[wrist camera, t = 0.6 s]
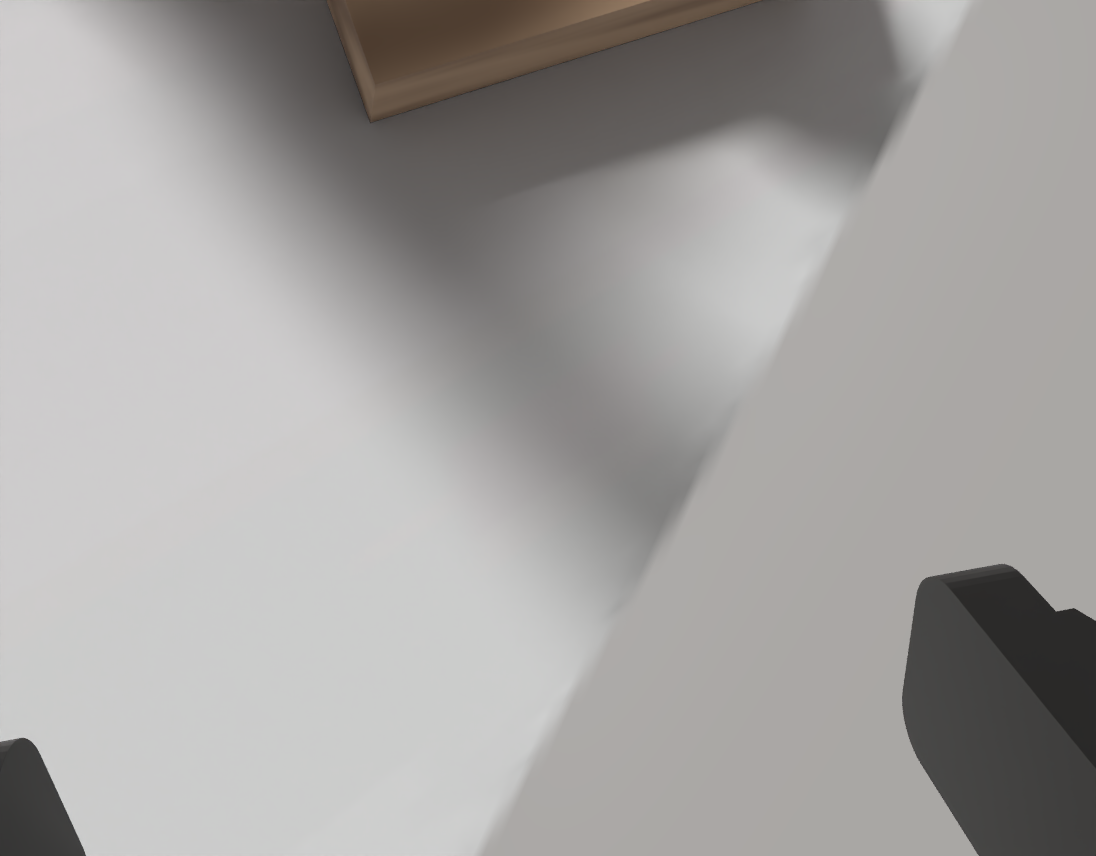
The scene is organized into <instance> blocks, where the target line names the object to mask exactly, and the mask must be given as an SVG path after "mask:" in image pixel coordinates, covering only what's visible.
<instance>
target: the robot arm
mask: <svg viewBox="0 0 1096 856" xmlns="http://www.w3.org/2000/svg"><path fill="white" fill-rule="evenodd" d="M902 702H903V703H902V706H903V714H904V720H905V724H906V729H907V732H908V736H909V739H910V742H911V744H912V747H913V749H914V751H915V753H916V756H917V758H918V759H919V761H920V763H921V765H922V766H923V768H924V769H925V771H926V773H927V774H928V776H929V777H930V779H931V781H932V782H933V784H934V785H935V787H936V788H937V790H938V791H939V793H940V794H941V796H942V798H943V800H944V801H945V802H946V804H947V806H948V807H949V809H950V811H951V812H952V814H953V815H954V817H955V819H956V820H957V821H958V823H959V825H960V827H961V828H962V830H963V831H964V833H965V834H966V836H967V838H968V839H969V841H970V842H971V844H972V845H973V847H974V849H975V850H976V852H977V854H978V855H979V856H1096V621H1095V620H1093V619H1092V618H1090V617H1088V616H1086V615H1085V614H1083V613H1081V612H1080V611H1078V610H1076V609H1074V608H1073V609H1068V610H1063V611H1057V612H1056V611H1055V610H1054V609H1053V608H1052V607H1051V606H1050V605H1049V603H1048V602H1047V601H1046V600H1045V599H1044V598H1043V597H1042V596H1041V595H1040V594H1039V593H1038V592H1037V590H1036V589H1035V588H1034V587H1033V586H1032V585H1031V584H1030V583H1029V582H1028V581H1027V580H1026V578H1025V577H1024V576H1023V575H1022V574H1020V573H1019V572H1018V571H1017V570H1016V569H1014V568H1013V567H1011V566H1009V565H1005V564H998V565H993V566H987V567H982V568H976V569H971V570H965V571H960V572H955V573H949V574H943V575H937V576H933V577H928V578H925V579H924V580H923V581H922V582H921V584H920V586H919V588H918V591H917V596H916V601H915V608H914V616H913V623H912V630H911V637H910V644H909V652H908V658H907V665H906V673H905V679H904V686H903V696H902ZM0 856H86V855H85V852H84V849H83V847H82V845H81V842H80V840H79V838H78V836H77V834H76V832H75V829H74V827H73V825H72V823H71V821H70V818H69V816H68V814H67V812H66V810H65V808H64V805H63V803H62V801H61V799H60V797H59V794H58V792H57V790H56V788H55V786H54V784H53V781H52V779H51V777H50V775H49V773H48V771H47V768H46V766H45V764H44V762H43V760H42V757H41V755H40V753H39V751H38V750H37V748H36V746H35V745H34V744H33V743H32V742H31V741H30V740H28V739H26V738H19V739H13V740H8V741H2V742H0Z"/></svg>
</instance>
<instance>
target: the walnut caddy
mask: <svg viewBox="0 0 1096 856" xmlns="http://www.w3.org/2000/svg"><path fill="white" fill-rule="evenodd" d="M758 1H762V0H327V3H328V6H329V9H330V12H331V14H332V17H333V20H334V23H335V25H336V28H337V31H338V34H339V37H340V39H341V42H342V45H343V48H344V51H345V53H346V56H347V59H348V62H349V65H350V67H351V70H352V73H353V76H354V78H355V81H356V84H357V87H358V90H359V92H360V95H361V98H362V101H363V104H364V106H365V109H366V112H367V115H368V118H369V120H370V123H371V122H374V121H377V120H381V119H384V118H387V117H390V116H393V115H397V114H400V113H403V112H406V111H409V110H413V109H416V108H419V107H422V106H425V105H429V104H432V103H435V102H438V101H441V100H445V99H448V98H451V97H454V96H457V95H461V94H464V93H467V92H470V91H473V90H477V89H480V88H483V87H486V86H489V85H493V84H496V83H499V82H502V81H506V80H509V79H512V78H515V77H518V76H522V75H525V74H528V73H531V72H534V71H538V70H541V69H544V68H547V67H550V66H554V65H557V64H560V63H563V62H566V61H570V60H573V59H576V58H579V57H582V56H586V55H589V54H592V53H595V52H598V51H602V50H605V49H608V48H611V47H614V46H618V45H621V44H624V43H627V42H630V41H634V40H637V39H640V38H643V37H646V36H650V35H653V34H656V33H659V32H662V31H666V30H669V29H672V28H675V27H678V26H682V25H685V24H688V23H691V22H694V21H698V20H701V19H704V18H707V17H710V16H714V15H717V14H720V13H723V12H726V11H730V10H733V9H736V8H739V7H742V6H746V5H749V4H752V3H755V2H758Z"/></svg>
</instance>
